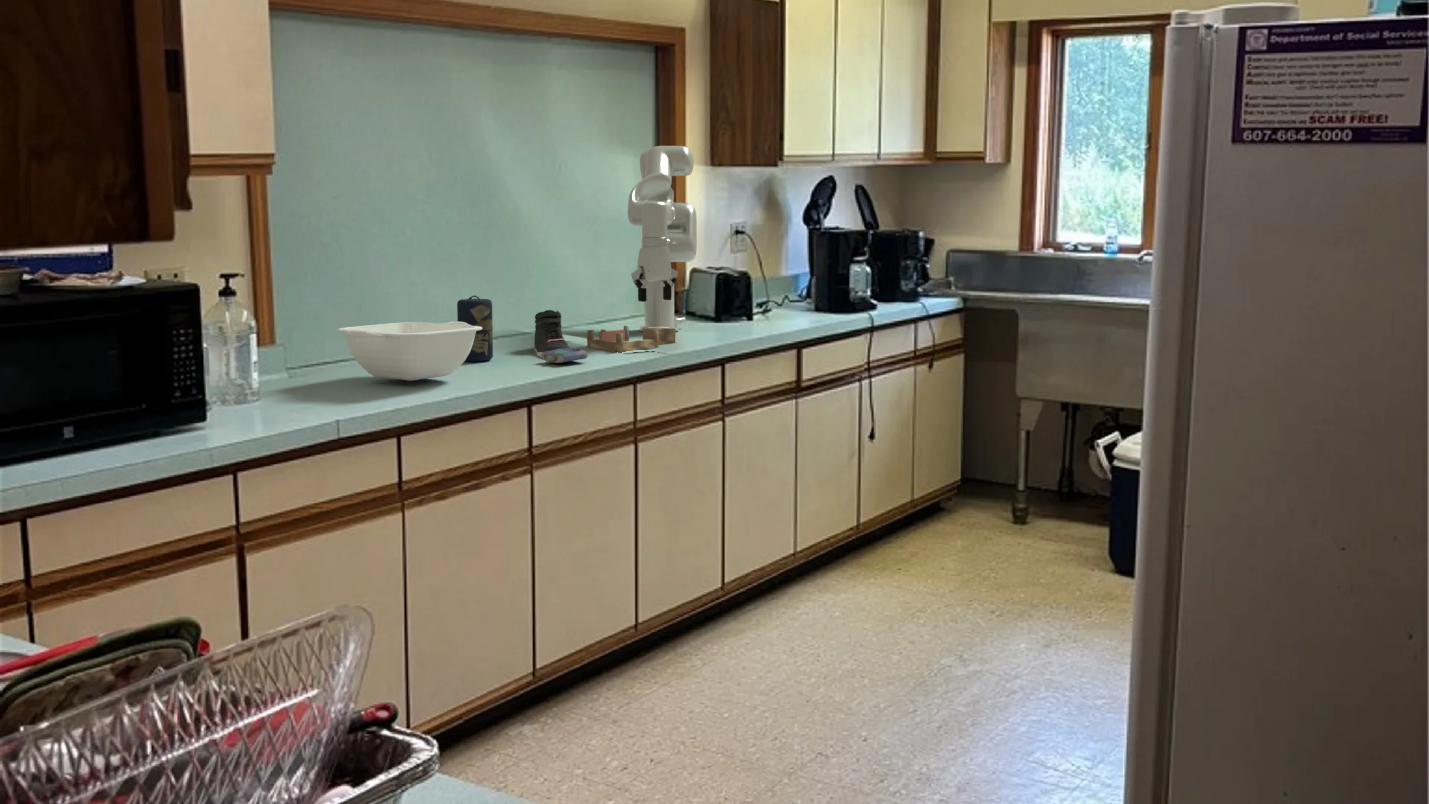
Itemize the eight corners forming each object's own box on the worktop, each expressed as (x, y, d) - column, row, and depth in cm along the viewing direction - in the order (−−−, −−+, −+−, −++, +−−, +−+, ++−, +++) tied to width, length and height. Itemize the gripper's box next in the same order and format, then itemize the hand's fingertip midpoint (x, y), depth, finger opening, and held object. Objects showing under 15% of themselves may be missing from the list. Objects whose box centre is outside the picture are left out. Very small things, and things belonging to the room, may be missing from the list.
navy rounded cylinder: (464, 363, 371) (462, 297, 369) (453, 360, 380) (452, 294, 377) (498, 361, 376) (496, 296, 373) (487, 358, 384) (485, 294, 382)
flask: (587, 350, 374) (558, 355, 366) (588, 360, 375) (558, 366, 367) (565, 346, 380) (535, 352, 373) (565, 357, 381) (536, 362, 373)
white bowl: (422, 366, 365) (421, 318, 363) (501, 374, 349) (500, 324, 347) (319, 379, 337) (317, 327, 335) (400, 388, 321) (398, 334, 319)
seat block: (660, 346, 420) (660, 326, 419) (675, 348, 415) (675, 327, 414) (642, 348, 415) (642, 327, 414) (657, 349, 410) (657, 328, 409)
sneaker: (545, 361, 378) (544, 314, 377) (524, 352, 403) (523, 308, 401) (579, 360, 382) (578, 314, 380) (556, 351, 406) (555, 307, 404)
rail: (626, 346, 416) (625, 325, 415) (630, 346, 415) (629, 325, 414) (598, 349, 406) (598, 328, 405) (602, 350, 405) (602, 328, 404)
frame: (626, 347, 416) (626, 327, 415) (659, 351, 405) (659, 330, 404) (586, 350, 406) (585, 330, 405) (618, 354, 395) (618, 333, 394)
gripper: (668, 242, 419) (668, 298, 421) (624, 243, 407) (624, 301, 410) (684, 243, 413) (684, 300, 416) (640, 244, 402) (640, 302, 404)
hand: (654, 300), depth 413 cm, fingers open, 9 cm apart
